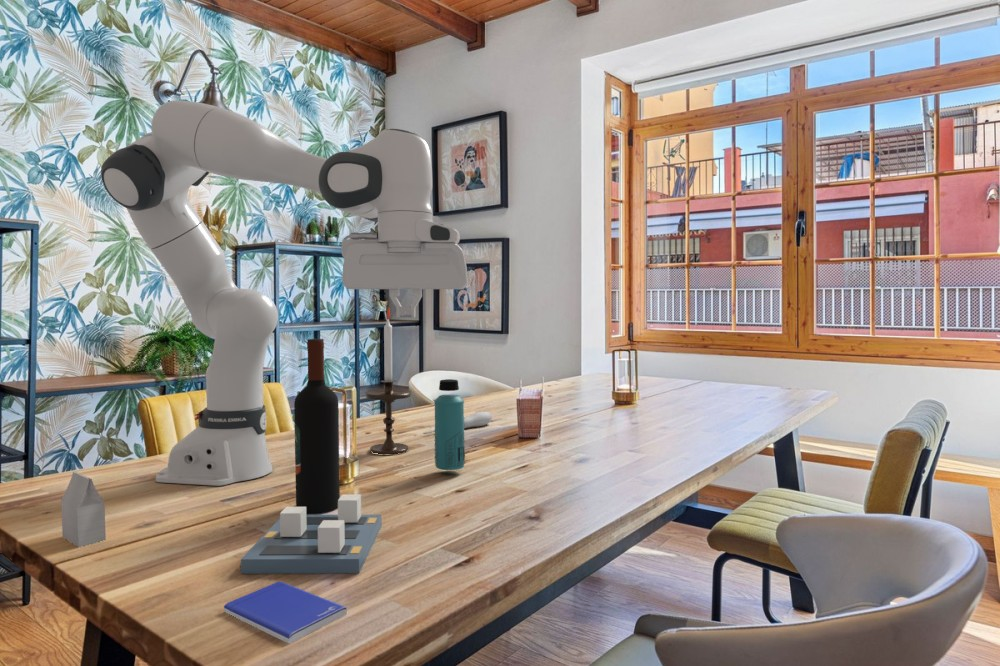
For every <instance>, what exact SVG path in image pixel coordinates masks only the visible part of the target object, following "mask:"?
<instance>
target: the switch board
mask: <svg viewBox="0 0 1000 666" xmlns="http://www.w3.org/2000/svg"><path fill="white" fill-rule="evenodd" d="M382 518H383V517H382V514H361V517H360V519H359V520H358V522H344V526H345V545H344V546H343V548H342V550H341V551H340V553H318V527H319V525H320V524H321V523H322V521H323V520H338V514H306V521H307V530H306V531H305V532H304V533H303V535H302V536H301V537H280V518H278V520H276V521H275V523H274V524H273V525H272V526H271V527H270V528H269V529H268V530H267V531H266V532H265V533H264V534H263V536H262V537H261V538H259V540H257V542H256V543H255V544H254V545H253V546H252V547H251V548H250V549H249V550H248V551H247V552H246V553H245V554H244V555H243V556H242V557H241V558H240V574H241V575H245V574H247V575H248V574H249V575H251V574H252V575H253V574H257V575H258V574H259V575H260V574H262V575H263V574H264V575H265V574H268V575H269V574H270V575H271V574H273V575H274V574H275V575H276V574H279V575H280V574H282V575H283V574H285V575H286V574H288V575H289V574H292V575H293V574H301V575H302V574H306V575H307V574H310V575H311V574H360V573H361V570H362V568H363V566H364V564H365V562H366V560H367V558H368V556H369V554H370V551H372V548H371V547H373V545H374V544H375V541H376V539H377V537H378V535H379V533H380V531H381V529H380V528H382V527H381V526H382ZM379 530H380V531H379ZM378 532H379V533H378ZM377 534H378V535H377Z"/></svg>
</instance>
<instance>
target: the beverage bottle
mask: <svg viewBox="0 0 1000 666" xmlns="http://www.w3.org/2000/svg"><path fill="white" fill-rule="evenodd" d="M459 388H460V387H459V380H458V379H452V378H451V379H441V380H439V386H438V390H439V391H443V392H452V391H453V392H454V391H459ZM433 404H434V429H433V430H435V432H434V434H433V435H434V436H433V437H434V441H433V442H434V445H433V446H434V464H435V465H434V466H435V467H436V469H439V470H442V471H443V470H445V471H455V470H456V471H457V470H460V469H463V468H464V467H465V464H466V460H465V458H466V452H465V442H466V441H465V440H466V439H465V433H466V432H465V429H464V426H465V424H464V418H465V415H464V414H465V411H464V408H465V406H464V405H465V400H464V399H463V398H462V397H461V396H460V395H458V394H441V395H439V396H438V397H437V398H436V399H435V400H434V402H433Z"/></svg>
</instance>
